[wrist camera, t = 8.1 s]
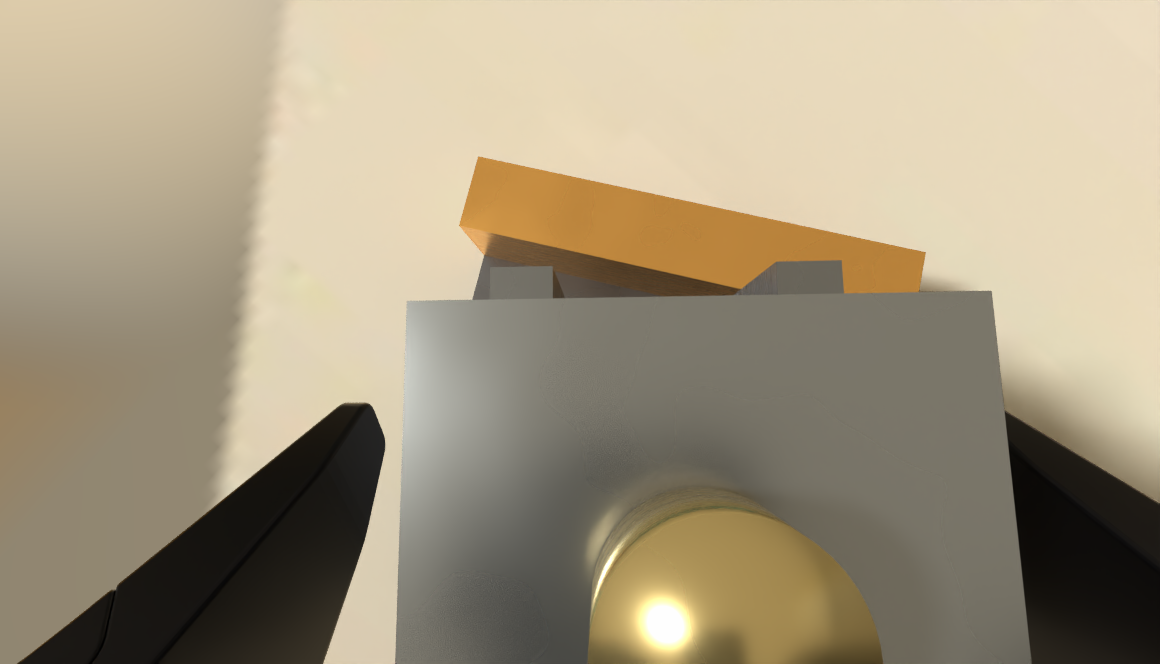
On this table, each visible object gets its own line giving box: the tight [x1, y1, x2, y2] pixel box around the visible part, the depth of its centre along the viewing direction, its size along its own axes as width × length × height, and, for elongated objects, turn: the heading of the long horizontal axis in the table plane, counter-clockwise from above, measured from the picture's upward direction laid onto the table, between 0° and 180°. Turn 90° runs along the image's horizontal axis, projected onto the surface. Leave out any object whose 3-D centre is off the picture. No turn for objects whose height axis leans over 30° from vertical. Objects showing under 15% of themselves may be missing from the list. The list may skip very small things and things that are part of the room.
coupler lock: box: [395, 260, 1032, 664], centre depth 10 cm, size 6×5×13 cm
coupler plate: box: [459, 157, 926, 300], centre depth 15 cm, size 12×12×4 cm
